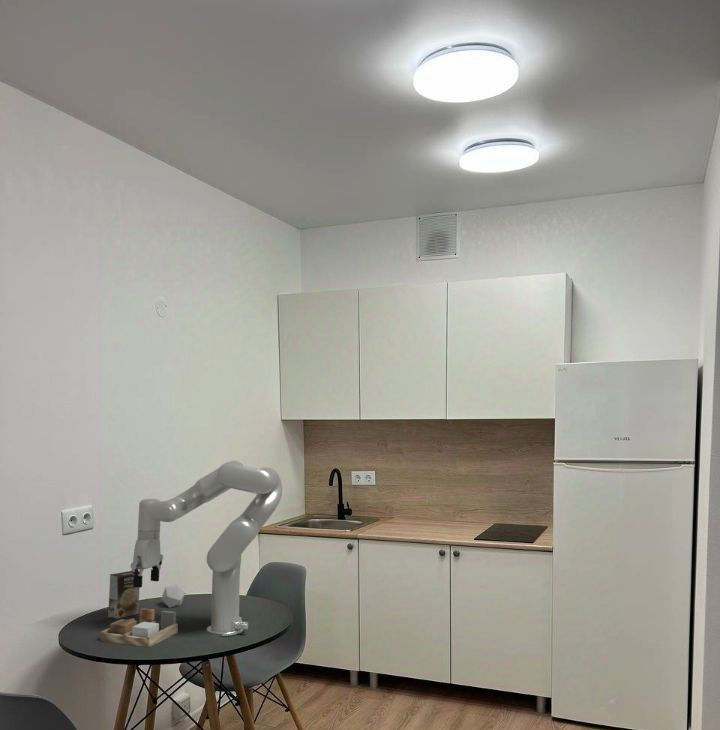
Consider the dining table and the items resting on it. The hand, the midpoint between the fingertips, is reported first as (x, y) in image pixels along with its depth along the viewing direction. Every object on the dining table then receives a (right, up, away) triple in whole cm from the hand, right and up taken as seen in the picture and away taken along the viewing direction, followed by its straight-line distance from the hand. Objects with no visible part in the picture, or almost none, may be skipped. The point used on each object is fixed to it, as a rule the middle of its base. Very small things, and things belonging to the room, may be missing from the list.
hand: (146, 583), depth 245 cm
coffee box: (-13, -17, +14) cm, 26 cm away
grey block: (+6, -14, -11) cm, 19 cm away
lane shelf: (+3, -15, -9) cm, 18 cm away
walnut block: (-2, -14, -8) cm, 16 cm away
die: (+1, -18, +30) cm, 36 cm away
